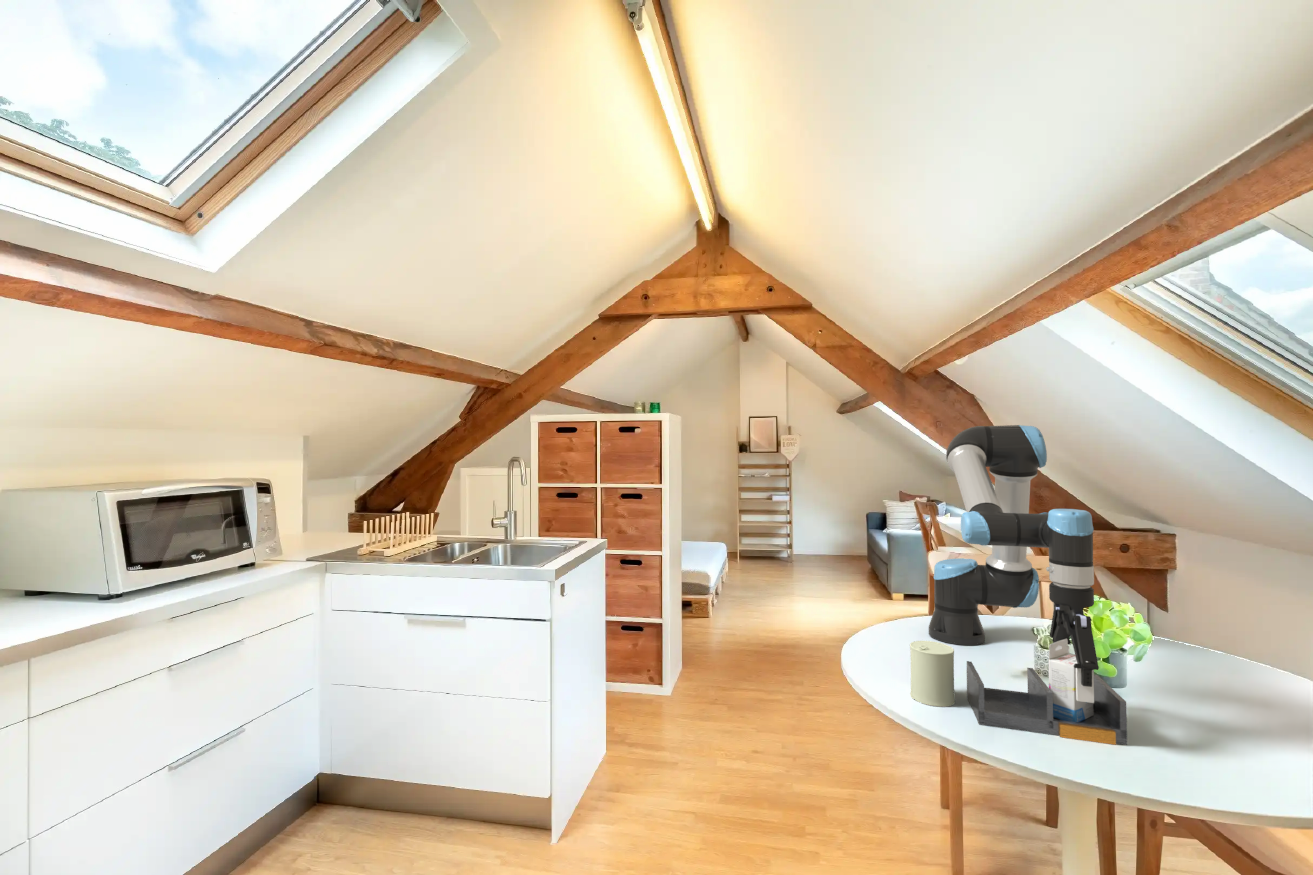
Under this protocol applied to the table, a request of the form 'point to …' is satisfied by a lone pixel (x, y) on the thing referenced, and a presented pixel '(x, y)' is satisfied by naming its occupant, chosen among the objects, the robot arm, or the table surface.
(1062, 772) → the table surface
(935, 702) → the can
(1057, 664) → the ink box
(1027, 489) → the robot arm
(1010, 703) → the rack
